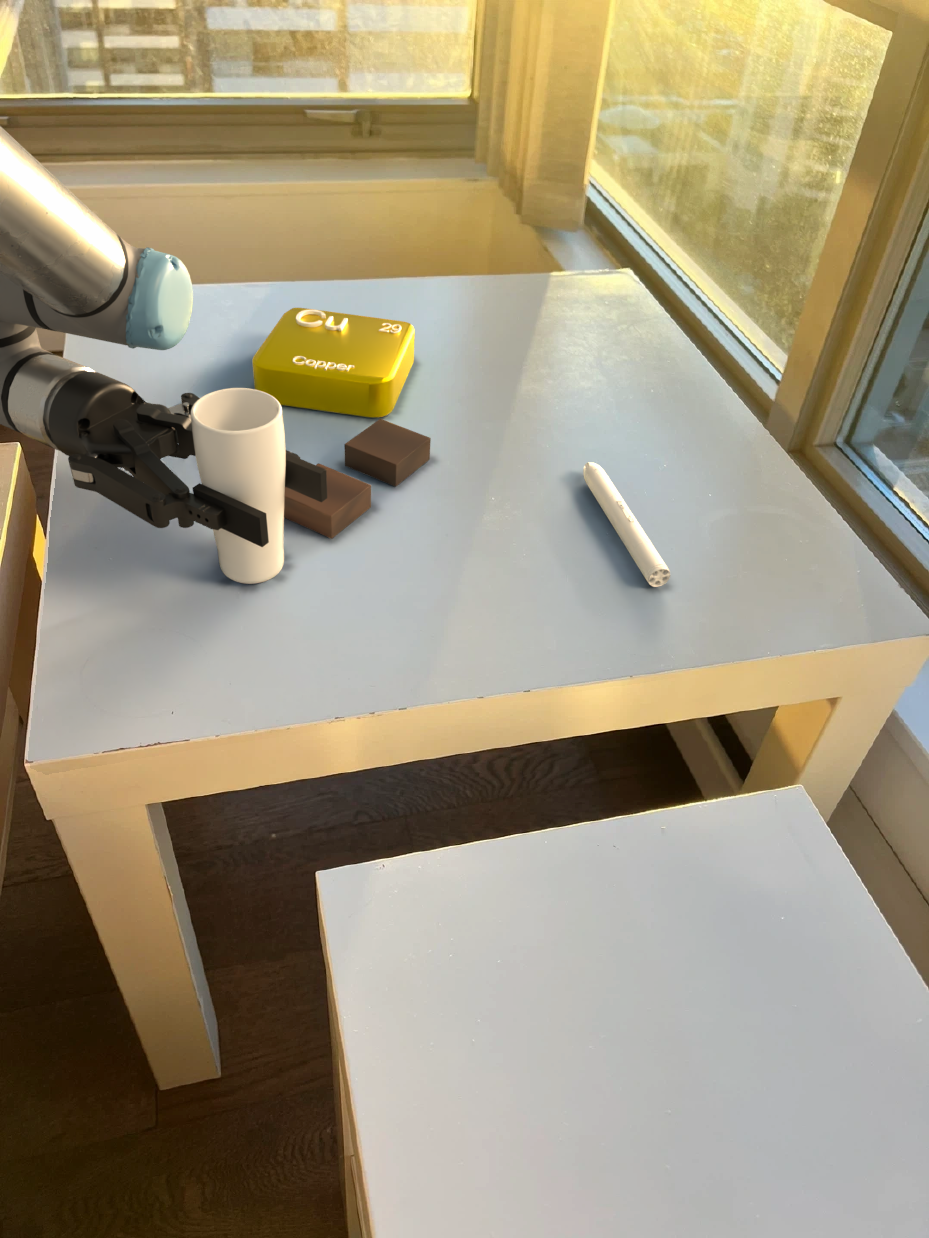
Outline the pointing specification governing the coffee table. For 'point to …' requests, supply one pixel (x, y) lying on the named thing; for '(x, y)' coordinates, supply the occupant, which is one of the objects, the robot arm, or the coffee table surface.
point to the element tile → (335, 362)
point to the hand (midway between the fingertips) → (294, 507)
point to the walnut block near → (329, 504)
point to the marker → (626, 526)
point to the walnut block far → (387, 452)
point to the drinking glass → (244, 472)
